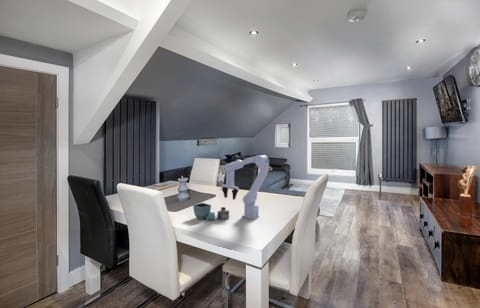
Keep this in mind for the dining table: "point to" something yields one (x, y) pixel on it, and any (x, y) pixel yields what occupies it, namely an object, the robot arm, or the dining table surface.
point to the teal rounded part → (211, 216)
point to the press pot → (223, 215)
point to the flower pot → (201, 210)
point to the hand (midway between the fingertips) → (229, 198)
